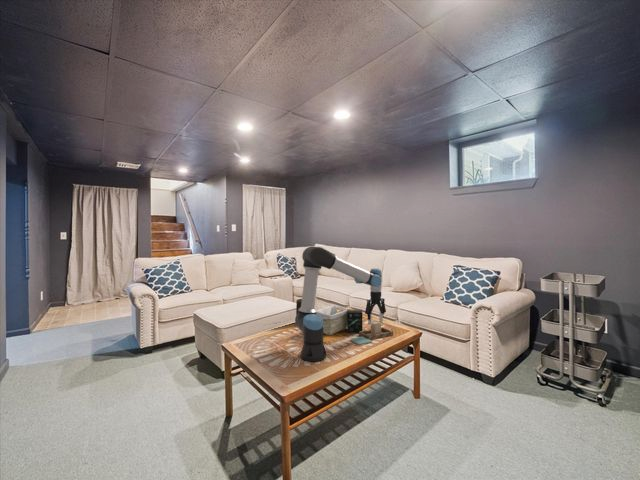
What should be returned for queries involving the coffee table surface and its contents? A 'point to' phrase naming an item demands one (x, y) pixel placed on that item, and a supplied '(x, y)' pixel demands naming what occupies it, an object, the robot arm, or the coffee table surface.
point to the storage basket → (333, 319)
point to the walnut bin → (383, 334)
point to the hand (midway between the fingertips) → (375, 323)
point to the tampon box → (354, 320)
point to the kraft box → (375, 328)
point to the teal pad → (361, 340)
